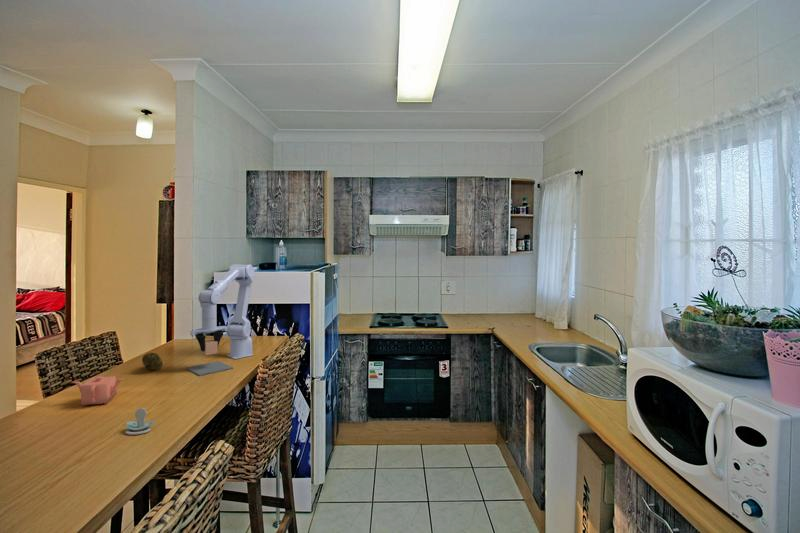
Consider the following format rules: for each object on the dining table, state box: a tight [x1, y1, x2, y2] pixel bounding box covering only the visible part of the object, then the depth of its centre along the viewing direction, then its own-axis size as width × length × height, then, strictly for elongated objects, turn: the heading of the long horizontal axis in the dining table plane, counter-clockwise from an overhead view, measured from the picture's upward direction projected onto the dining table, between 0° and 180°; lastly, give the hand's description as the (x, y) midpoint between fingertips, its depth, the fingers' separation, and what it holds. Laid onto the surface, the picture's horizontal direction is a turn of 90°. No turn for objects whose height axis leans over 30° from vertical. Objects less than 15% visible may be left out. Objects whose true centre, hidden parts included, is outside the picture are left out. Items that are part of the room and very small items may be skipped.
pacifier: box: [124, 407, 156, 436], centre depth 117 cm, size 7×6×6 cm
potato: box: [141, 352, 164, 371], centre depth 172 cm, size 8×13×8 cm, turn 6°
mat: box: [185, 360, 234, 377], centre depth 175 cm, size 14×14×1 cm
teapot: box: [72, 375, 126, 406], centre depth 138 cm, size 12×15×8 cm
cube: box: [200, 339, 219, 356], centre depth 175 cm, size 5×5×5 cm
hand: (209, 349), depth 174 cm, fingers closed on cube, 5 cm apart
